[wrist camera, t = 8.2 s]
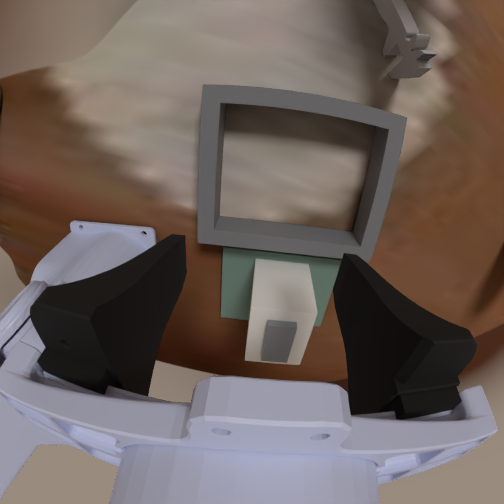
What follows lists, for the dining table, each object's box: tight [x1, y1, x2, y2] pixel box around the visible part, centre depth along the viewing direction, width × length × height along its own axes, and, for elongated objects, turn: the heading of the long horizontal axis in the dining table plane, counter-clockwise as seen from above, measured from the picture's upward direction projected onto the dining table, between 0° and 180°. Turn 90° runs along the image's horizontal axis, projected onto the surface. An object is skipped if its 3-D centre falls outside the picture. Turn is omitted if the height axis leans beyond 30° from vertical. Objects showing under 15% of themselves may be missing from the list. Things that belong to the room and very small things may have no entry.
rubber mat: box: [221, 246, 341, 326], centre depth 25 cm, size 10×8×1 cm
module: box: [245, 258, 317, 365], centre depth 22 cm, size 4×6×7 cm
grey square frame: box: [198, 85, 407, 262], centre depth 19 cm, size 13×11×2 cm
